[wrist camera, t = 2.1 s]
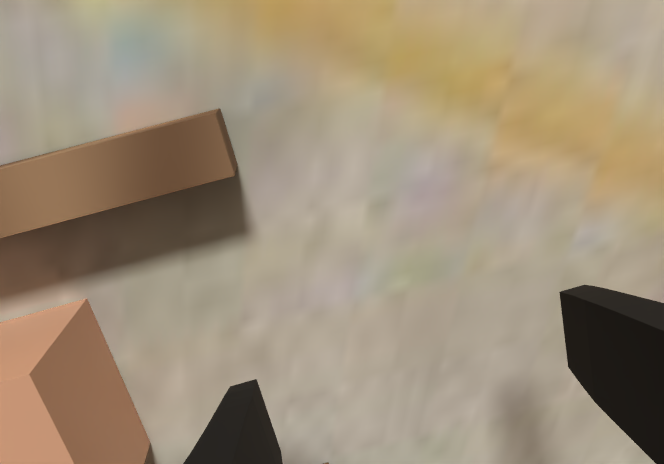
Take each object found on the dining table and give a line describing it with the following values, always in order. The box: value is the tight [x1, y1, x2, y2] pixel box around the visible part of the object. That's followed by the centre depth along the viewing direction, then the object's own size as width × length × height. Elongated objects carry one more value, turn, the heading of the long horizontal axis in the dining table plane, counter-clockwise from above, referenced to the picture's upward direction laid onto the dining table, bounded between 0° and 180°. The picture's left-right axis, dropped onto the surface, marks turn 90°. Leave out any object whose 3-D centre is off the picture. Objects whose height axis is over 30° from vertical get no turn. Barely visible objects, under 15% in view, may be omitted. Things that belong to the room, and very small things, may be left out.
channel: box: [0, 109, 329, 464], centre depth 15 cm, size 14×13×2 cm
